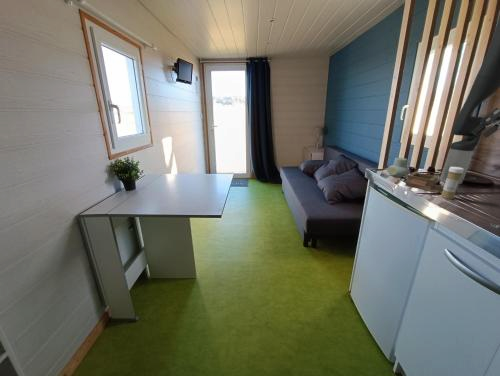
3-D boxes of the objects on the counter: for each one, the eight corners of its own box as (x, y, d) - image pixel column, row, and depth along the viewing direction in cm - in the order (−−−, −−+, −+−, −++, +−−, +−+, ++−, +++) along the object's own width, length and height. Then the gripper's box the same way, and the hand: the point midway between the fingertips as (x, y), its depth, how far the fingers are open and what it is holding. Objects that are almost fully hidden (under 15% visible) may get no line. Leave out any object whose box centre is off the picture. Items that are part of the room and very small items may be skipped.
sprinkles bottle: (455, 198, 100) (466, 168, 95) (451, 200, 97) (462, 169, 93) (442, 194, 103) (452, 165, 99) (438, 196, 101) (448, 167, 96)
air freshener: (383, 173, 135) (387, 156, 131) (395, 172, 136) (399, 156, 133) (398, 179, 125) (402, 161, 121) (411, 178, 126) (416, 160, 123)
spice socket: (412, 181, 122) (415, 171, 120) (443, 187, 112) (446, 177, 111) (405, 185, 114) (407, 175, 112) (437, 193, 105) (440, 182, 103)
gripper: (524, 95, 85) (479, 131, 96) (507, 88, 79) (462, 127, 90) (545, 106, 81) (495, 142, 92) (528, 100, 75) (478, 139, 86)
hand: (479, 135), depth 91 cm, fingers open, 8 cm apart
